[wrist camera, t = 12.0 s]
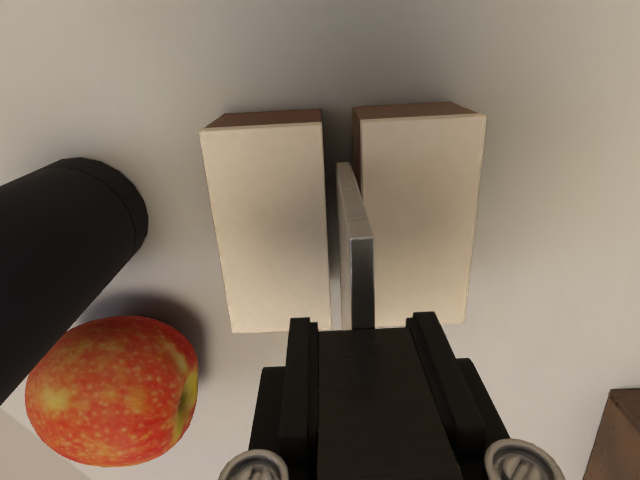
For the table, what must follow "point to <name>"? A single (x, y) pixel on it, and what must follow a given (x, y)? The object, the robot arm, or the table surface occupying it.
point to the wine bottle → (59, 254)
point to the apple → (114, 391)
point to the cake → (270, 216)
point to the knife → (373, 376)
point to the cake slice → (419, 204)
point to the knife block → (617, 439)
